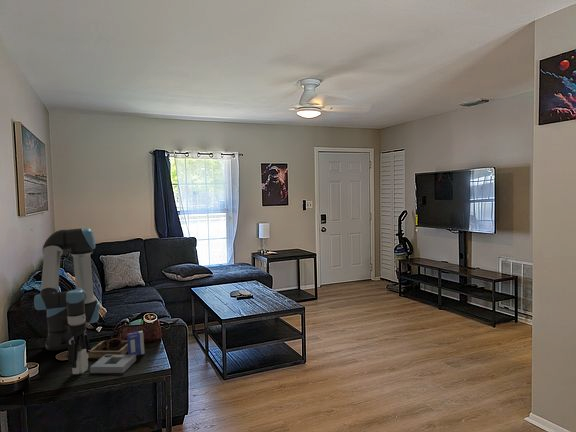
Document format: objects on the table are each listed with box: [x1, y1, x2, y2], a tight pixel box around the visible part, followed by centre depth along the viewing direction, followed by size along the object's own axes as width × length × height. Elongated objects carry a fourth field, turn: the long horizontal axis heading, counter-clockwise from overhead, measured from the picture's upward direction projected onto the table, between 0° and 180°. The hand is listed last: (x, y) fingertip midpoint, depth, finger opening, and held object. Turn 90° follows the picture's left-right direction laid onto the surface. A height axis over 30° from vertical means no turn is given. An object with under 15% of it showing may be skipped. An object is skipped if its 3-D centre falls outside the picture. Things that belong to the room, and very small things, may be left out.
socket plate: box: [89, 354, 137, 374], centre depth 206 cm, size 14×16×4 cm
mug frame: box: [87, 340, 128, 359], centre depth 224 cm, size 15×17×4 cm
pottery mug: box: [103, 337, 124, 351], centre depth 224 cm, size 12×10×8 cm
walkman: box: [126, 330, 146, 357], centre depth 219 cm, size 8×3×12 cm, turn 123°
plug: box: [77, 345, 89, 374], centre depth 202 cm, size 4×4×12 cm
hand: (80, 369), depth 202 cm, fingers open, 7 cm apart
